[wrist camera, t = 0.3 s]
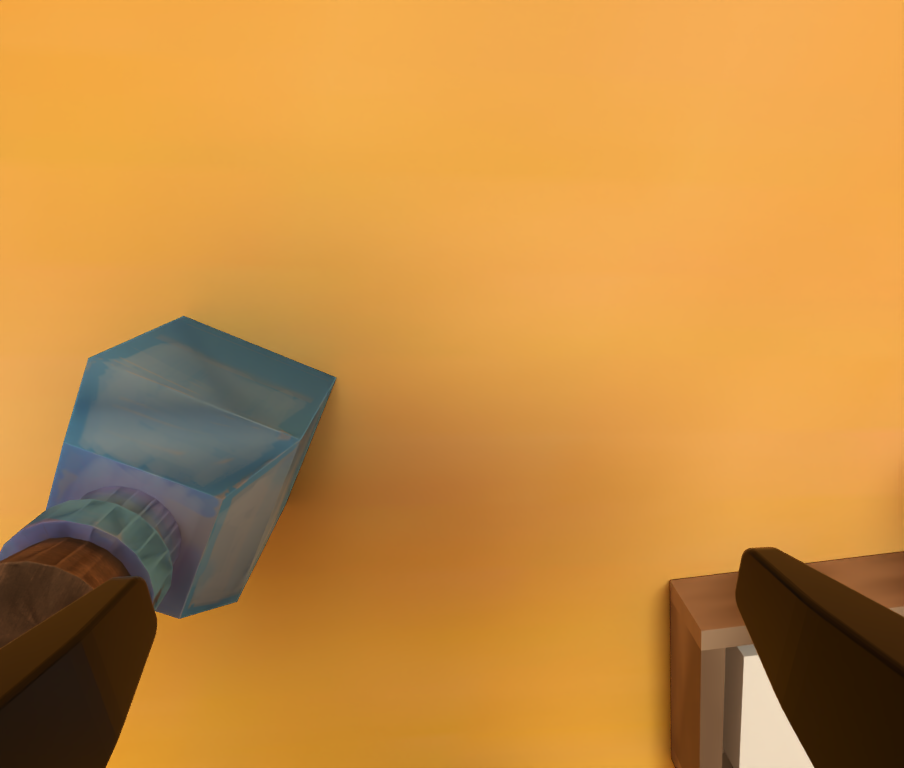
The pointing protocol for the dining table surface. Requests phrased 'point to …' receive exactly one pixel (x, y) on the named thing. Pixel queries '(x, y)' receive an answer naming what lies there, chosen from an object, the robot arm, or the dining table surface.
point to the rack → (721, 626)
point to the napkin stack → (756, 717)
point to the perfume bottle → (166, 474)
